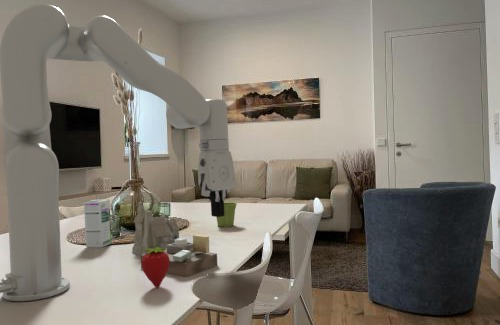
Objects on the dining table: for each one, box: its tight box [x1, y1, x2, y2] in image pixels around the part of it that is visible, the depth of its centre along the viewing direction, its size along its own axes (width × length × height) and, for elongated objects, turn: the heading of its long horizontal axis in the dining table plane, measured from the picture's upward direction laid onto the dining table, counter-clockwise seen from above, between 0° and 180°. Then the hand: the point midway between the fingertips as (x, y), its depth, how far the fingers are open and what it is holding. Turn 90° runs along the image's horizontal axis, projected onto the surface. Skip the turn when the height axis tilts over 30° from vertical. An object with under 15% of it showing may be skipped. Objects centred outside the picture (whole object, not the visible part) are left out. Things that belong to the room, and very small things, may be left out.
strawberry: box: [140, 241, 170, 288], centre depth 87 cm, size 6×8×10 cm
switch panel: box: [140, 241, 218, 277], centre depth 103 cm, size 11×16×5 cm
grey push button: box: [175, 237, 188, 247], centre depth 106 cm, size 3×3×3 cm
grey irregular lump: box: [131, 201, 180, 257], centre depth 122 cm, size 16×16×15 cm
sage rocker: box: [173, 250, 192, 262], centre depth 97 cm, size 4×3×1 cm
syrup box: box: [83, 198, 113, 249], centre depth 130 cm, size 6×6×14 cm
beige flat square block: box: [192, 234, 210, 253], centre depth 103 cm, size 1×4×4 cm, turn 54°
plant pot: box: [216, 201, 238, 228], centre depth 158 cm, size 9×9×9 cm
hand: (218, 215), depth 108 cm, fingers closed
